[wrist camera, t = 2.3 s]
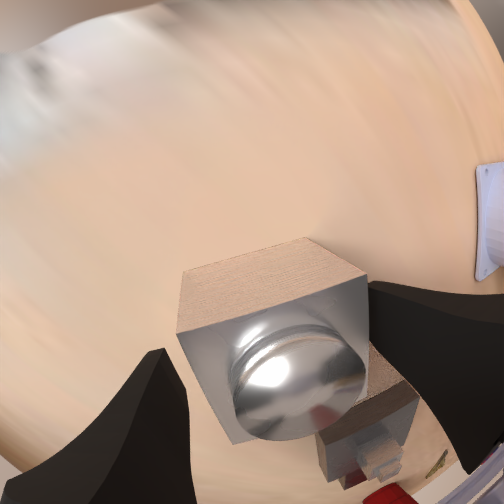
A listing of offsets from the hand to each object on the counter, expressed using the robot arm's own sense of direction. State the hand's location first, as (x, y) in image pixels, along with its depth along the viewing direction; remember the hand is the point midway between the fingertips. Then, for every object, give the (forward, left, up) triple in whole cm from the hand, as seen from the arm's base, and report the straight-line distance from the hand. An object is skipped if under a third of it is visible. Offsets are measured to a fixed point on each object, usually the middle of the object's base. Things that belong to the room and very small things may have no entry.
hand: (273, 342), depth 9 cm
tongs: (-24, +46, -3) cm, 51 cm away
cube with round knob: (0, 0, -3) cm, 3 cm away
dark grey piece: (-5, +16, -2) cm, 17 cm away
